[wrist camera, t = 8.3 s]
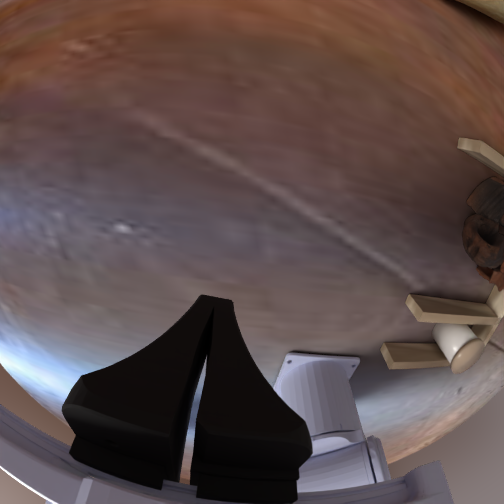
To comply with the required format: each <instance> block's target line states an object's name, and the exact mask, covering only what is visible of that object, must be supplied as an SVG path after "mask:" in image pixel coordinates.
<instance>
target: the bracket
mask: <svg viewBox="0 0 504 504" xmlns="http://www.w3.org/2000/svg"><path fill="white" fill-rule="evenodd" d="M457 148H458V149H460V150H462V151H463V152H465V153H467V154H468V155H470V156H472V157H473V158H475V159H477V160H478V161H480V162H481V163H483V164H485V165H486V166H488V167H489V168H491V169H492V170H494V171H495V172H497V173H498V174H499V175H501V176H502V177H504V157H503V156H502V155H500V154H499V153H498V152H496V151H495V150H494V149H492V148H491V147H490V146H488V145H487V144H485V143H484V142H482V141H479V140H473V139H467V138H460V137H459V141H458V147H457ZM405 303H406V305H407V306H408V308H409V309H410V310H411V312H412V313H413V315H414V316H415V317H416V319H417V320H418V322H434V323H452V324H474V325H473V327H472V329H471V330H472V331H473V333H474V334H475V335H476V337H477V338H480V339H481V340H482V341H483V342H484V344H485V345H486V344H487V342H488V341H489V339H490V337H491V336H492V334H493V333H494V331H495V329H496V328H497V326H498V324H499V323H500V321H501V319H502V317H503V315H504V290H502V291H501V292H499V291H498V288H497V286H496V285H494V287H493V290H492V292H491V294H490V296H489V298H488V300H487V302H486V304H483V303H475V302H467V301H459V300H451V299H443V298H436V297H429V296H421V295H414V294H409V295H408V297H407V299H406V302H405ZM380 350H381V353H382V355H383V357H384V359H385V361H386V364H387V366H388V368H389V369H416V368H432V367H444V366H450V363H449V361H448V360H447V358H446V356H445V355H444V353H443V352H442V350H441V349H440V347H439V346H438V344H437V343H386V342H384V343H383V345H382V347H381V349H380Z"/></svg>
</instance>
